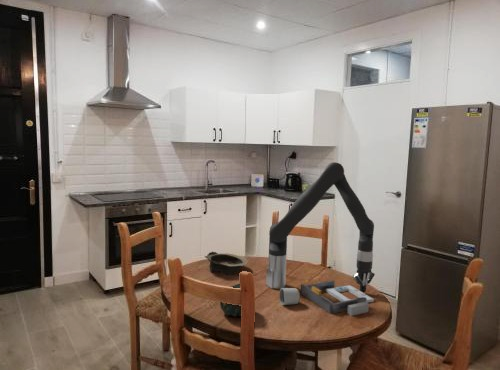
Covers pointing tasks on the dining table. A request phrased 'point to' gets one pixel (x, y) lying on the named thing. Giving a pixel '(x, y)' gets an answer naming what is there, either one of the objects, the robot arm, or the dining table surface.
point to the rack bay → (315, 295)
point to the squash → (231, 306)
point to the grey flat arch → (337, 295)
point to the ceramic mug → (289, 296)
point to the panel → (358, 308)
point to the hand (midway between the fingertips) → (362, 292)
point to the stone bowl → (225, 262)
